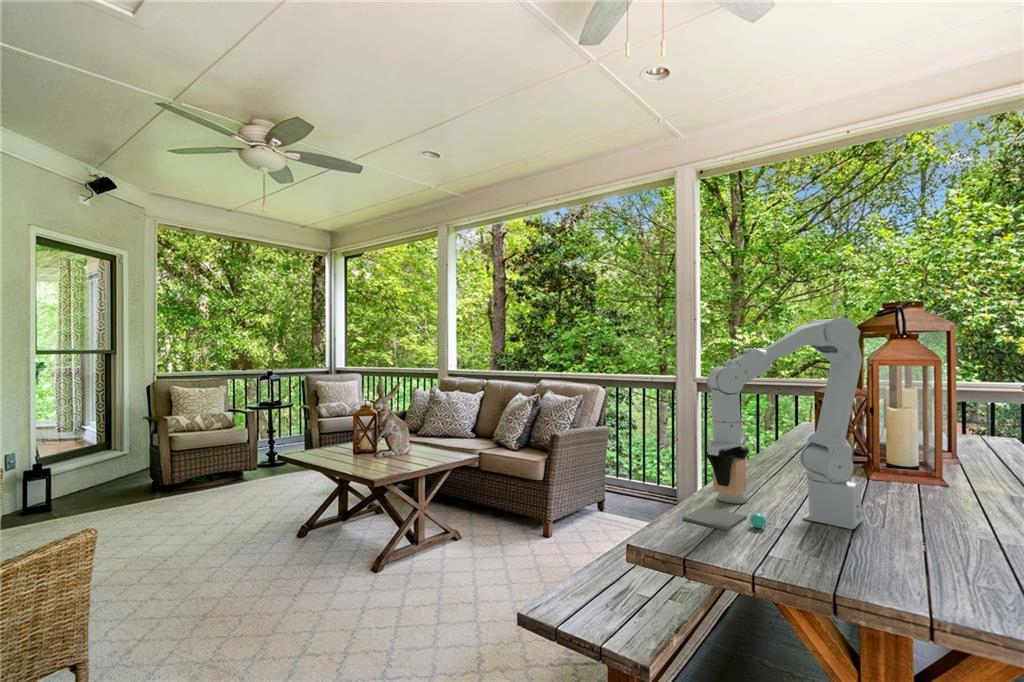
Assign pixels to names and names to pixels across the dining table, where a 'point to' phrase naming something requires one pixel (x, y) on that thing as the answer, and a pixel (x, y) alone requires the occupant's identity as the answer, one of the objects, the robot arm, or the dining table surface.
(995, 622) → the dining table surface
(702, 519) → the mat
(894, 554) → the dining table surface
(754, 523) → the ball
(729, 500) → the flask
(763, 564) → the dining table surface
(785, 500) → the dining table surface
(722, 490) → the light orange block
